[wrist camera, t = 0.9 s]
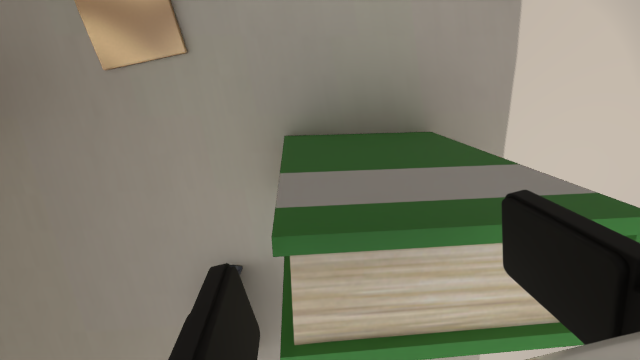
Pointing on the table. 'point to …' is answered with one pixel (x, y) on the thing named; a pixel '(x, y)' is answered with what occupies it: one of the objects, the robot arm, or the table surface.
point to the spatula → (131, 30)
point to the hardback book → (410, 248)
